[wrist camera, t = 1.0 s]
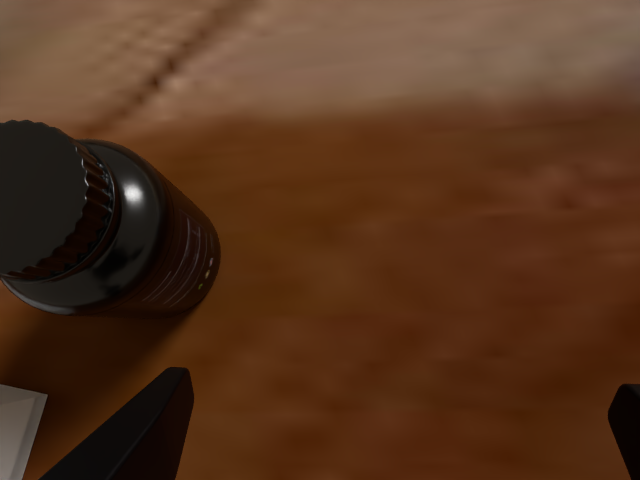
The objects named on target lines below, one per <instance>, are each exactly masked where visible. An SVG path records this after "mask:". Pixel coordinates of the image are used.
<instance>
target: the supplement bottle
mask: <svg viewBox="0 0 640 480" xmlns="http://www.w3.org/2000/svg"><path fill="white" fill-rule="evenodd" d="M220 258H221V250H220V242H219V238H218V235H217V232H216V230H215V228H214V226H213V224H212V223H211V221H210V220H209V218H208V217H207V216H206V215H205V214H204V213H203V212H202V211H201V210H200V209H199V208H198V207H197V206H196V205H195V204H194V203H193V202H192V201H191V200H189V199H188V198H187V197H186V196H185V195H184V194H183V193H182V192H181V191H180V190H178V189H177V188H176V187H175V186H174V185H173V184H172V183H171V182H170V181H169V180H167V179H166V178H165V177H164V176H163V175H162V174H161V173H160V172H159V171H157V170H156V169H155V168H154V167H153V166H152V165H151V164H150V163H149V162H147V161H146V160H145V159H143V158H142V157H141V156H139V155H138V154H137V153H135V152H133V151H132V150H130V149H128V148H126V147H124V146H122V145H119V144H116V143H113V142H109V141H105V140H98V139H73V138H72V137H70V136H68V135H67V134H65V133H64V132H63V131H61V130H60V129H58V128H55V127H50V126H48V125H47V124H45V123H42V122H37V123H34V122H32V121H29V120H23V121H19V122H18V121H16V120H10V121H8V122H5V123H0V280H1V281H2V283H3V284H4V285H5V286H6V287H7V288H8V289H9V291H10V292H12V293H13V294H14V295H15V296H16V297H17V298H19V299H20V300H22V301H23V302H25V303H26V304H28V305H30V306H32V307H34V308H37V309H39V310H42V311H45V312H49V313H54V314H60V315H67V316H86V317H111V318H136V319H160V318H167V317H171V316H174V315H177V314H180V313H182V312H184V311H186V310H188V309H189V308H191V307H192V306H194V305H195V304H196V303H198V302H199V301H200V300H201V299H202V298H203V297H204V296H205V294H206V293H207V292H208V291H209V289H210V288H211V286H212V284H213V282H214V280H215V278H216V276H217V273H218V270H219V265H220Z"/></svg>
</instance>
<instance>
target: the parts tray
mask: <svg viewBox="0 0 640 480" xmlns="http://www.w3.org/2000/svg"><path fill="white" fill-rule="evenodd" d="M47 396H48V395H47V394H43V393H38V392H34V391H29V390H24V389H20V388H15V387H11V386H6V385H2V384H0V480H22V478H23V475H24V471H25V468H26V465H27V461H28V458H29V455H30V452H31V448H32V445H33V442H34V439H35V435H36V432H37V429H38V426H39V422H40V419H41V416H42V413H43V409H44V406H45V403H46V400H47Z"/></svg>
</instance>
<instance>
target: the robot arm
mask: <svg viewBox="0 0 640 480" xmlns="http://www.w3.org/2000/svg"><path fill="white" fill-rule="evenodd" d="M193 404H194V393H193V387H192V382H191V377H190V372H189V370H188V369H187V368H181V367H170V368H167V369H166V370H165V371H163V372H162V373H161V374H160V375H159V376H158V377H156V378H155V379H154V380H153V381H152V382H151V383H149V384H148V385H147V386H146V387H145V388H144V389H143V390H141V391H140V392H139V393H138V394H137V395H136V396H134V397H133V398H132V399H131V400H130V401H129V402H127V403H126V404H125V405H124V406H123V407H122V408H120V409H119V410H118V411H117V412H116V413H115V414H114V415H112V416H111V417H110V418H109V419H108V420H107V421H105V422H104V423H103V424H102V425H101V426H100V427H98V428H97V429H96V430H95V431H94V432H93V433H92V434H90V435H89V436H88V437H87V438H86V439H85V440H83V441H82V442H81V443H80V444H79V445H78V446H76V447H75V448H74V449H73V450H72V451H71V452H69V453H68V454H67V455H66V456H65V457H64V458H63V459H61V460H60V461H59V462H58V463H57V464H56V465H54V466H53V467H52V468H51V469H50V470H49V471H47V472H46V473H45V474H44V475H43V476H42V477H40V478H39V479H38V480H175V478H176V474H177V471H178V467H179V463H180V459H181V455H182V450H183V446H184V442H185V438H186V434H187V430H188V426H189V421H190V417H191V413H192V409H193ZM608 420H609V424H610V427H611V429H612V432H613V434H614V437H615V439H616V442H617V444H618V447H619V449H620V452H621V455H622V457H623V460H624V462H625V465H626V467H627V470H628V472H629V475H630V477H631V480H640V384H622V385H621V386H620V387H619V388H618V390H617V393H616V395H615V397H614V399H613V401H612V403H611V405H610V408H609V410H608Z"/></svg>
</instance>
